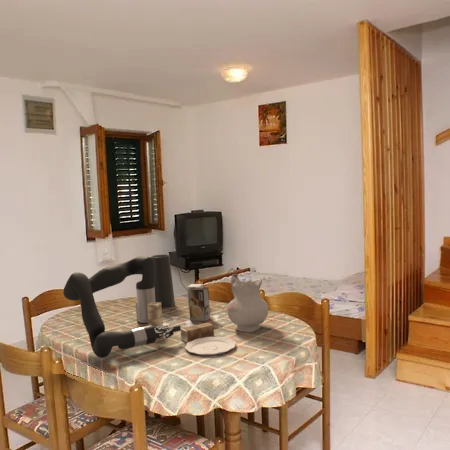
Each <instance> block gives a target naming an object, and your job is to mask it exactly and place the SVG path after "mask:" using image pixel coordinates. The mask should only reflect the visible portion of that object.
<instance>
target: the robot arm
mask: <svg viewBox="0 0 450 450" xmlns="http://www.w3.org/2000/svg"><path fill="white" fill-rule="evenodd" d="M134 275H140V276H141V280H139V281H137V282H136V283H135V289H136V290H135V291H136V293H135V294H136V302H135V311H136V314H135V315H136V322H139V323H140V324H148V310H147V305H148V304H149V303H151V302H155V288H154V284H155V262H154V260H153V258H151V256H139V255H138V256H136V257H133V258H131V259H129V260H127V261H125V262H121V263H117V264H113V265H109V266H107V267H106V266H105V267H104V268H102V269H100V270H99V271H97V272H96V273H94V274H93V275H92V276H91V277H88V276H87V275H86V274H85V273H82V272H80V271H79V272H78V271H77V272H73V273H71V275H70V276H69V278H68V279H67V281H66V283H65V285H64V287H63V292H62V293H63V296H64V298H65V299H66V300H69V301H73V302H75V301H79V302H80V311H81V318H82V319H81V320H82V322H83V325H84V327H85V330H86V332H87V334H88V337H89V341H90V345H91V349H92V352H93V354H94V355H95V356H96V357H97V358H99V359H100V358H101V359H102V358H103V359H104V358H107V357H108V356H109V355H110V354H111V351H112V349H113V347H117V348H118V349H120V350H128V349H131V348H136V347H137V348H139V347H143V346H147V345H151V344H155V343H156V340H157V339H162V338H165V339H169V338H170V337H172V336H174V333H176V332H181V325H179V324H178V325H173V326H170V325H163V326H154V327H155V328H154V327H153V326H152V325H149V326H148V325H145V326H144V325H143V326H141V327H136V328H133V329H130V330H129V329H128V330H124V331H106V326H105V324H104V321H103V319H102V317H101V315H100V312H99V310H98V307H97V304H96V301H95V297H94V294H95V293H97V292H100V291H103V290H105V289H108V288H110V287H113V286H116V285H118V284H121V283H123V281H125V280H126V278H127V277H129V276H134Z"/></svg>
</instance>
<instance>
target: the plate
mask: <svg viewBox="0 0 450 450" xmlns="http://www.w3.org/2000/svg"><path fill="white" fill-rule="evenodd" d="M236 344H237V342H236V341H235V340H233V339H232V338H229V337H223V336H211V337H204V338H199V339H195V340H193V341H191V342H187V343H186V345H185V347H184V349H185V350H187V351H188V352H189V353H192V354H196V355H201V356H215V355H221V354H225V353H226V352H230V351H231V350H232V349H233V350H234V348H236Z"/></svg>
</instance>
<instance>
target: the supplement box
mask: <svg viewBox="0 0 450 450" xmlns="http://www.w3.org/2000/svg"><path fill="white" fill-rule="evenodd" d="M192 287H205V286H204V284H203V283H191V284H189V285H188V286H186V288H187V293H188V289H190V288H192ZM187 305H188V306H187V307H189V296H188V295H187Z"/></svg>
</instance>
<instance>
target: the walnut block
mask: <svg viewBox="0 0 450 450" xmlns="http://www.w3.org/2000/svg"><path fill="white" fill-rule="evenodd" d="M214 327H215V326H214V324H212V323H210V322H205V323H199V324H196V325H195V324H194V325H191V326H186V327H182V328H181V330H180V338H181V339H180V340H181V341H183V342H185V343H186V344H187V343H188V342H191V341H193V340H195V339H199V338H204V337H215V330H214V329H215V328H214Z"/></svg>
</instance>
